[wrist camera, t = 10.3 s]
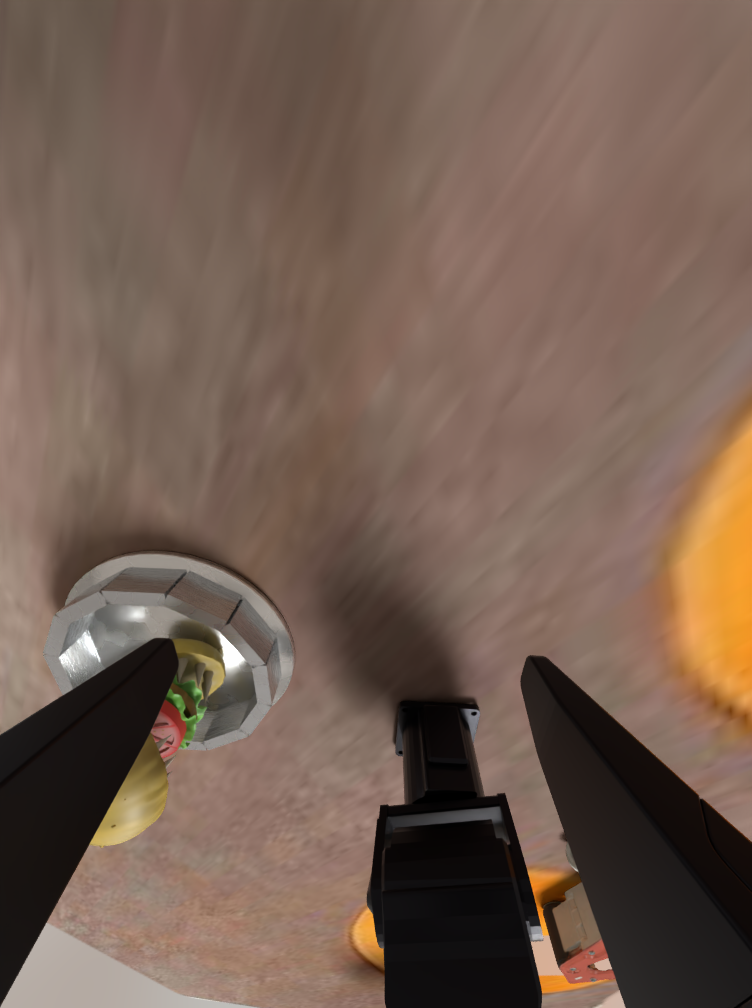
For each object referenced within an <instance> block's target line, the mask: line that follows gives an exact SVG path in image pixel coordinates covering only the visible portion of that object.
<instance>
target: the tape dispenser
mask: <svg viewBox="0 0 752 1008" xmlns="http://www.w3.org/2000/svg"><path fill="white" fill-rule="evenodd" d="M566 856H567V859H568V862H569V863H570V865H571V866H572V868H574V869H575V870H576V871H577V872H578V870H577V867H576V864H575V861H574V858H573V855H572V852H571V849H570V847H569V844H568V842H567V845H566ZM578 873H579V872H578ZM565 897H566V901H564V902H549V903H547V904H545V905H544V906H543V908H544V910H543V915H544V918H545V922H546V926H547V929H548V933H549V936H550V940H551V943H552V947H553V951H554V954H555V958H556V961H557V964H558V967H559V969H560V970H561V972H562V973H563V974H564V976H565V977H566V979H567V981H568V982H569V983H581V982H595V981H598V980H604V979H609V980H611V979H616V978H615V975H614V973H613V970H606V971H600V970H598V969H597V968H595V965H594V963H595V962H598V961H600V960H604V959H606V958H608V955H607V953H606V950H605V947H604V944H603V941H602V938H601V935H600V933H599V930H598V927H597V924H596V921H595V918H594V915H593V912H592V910H591V907H590V904H589V901H588V898H587V895H586V892H585V890H584V887H583V884H582V882H581V883H579V884H578V885H576V886H574V887H572V888H571V889H569V890H567V891H566V892H565Z"/></svg>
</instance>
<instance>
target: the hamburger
mask: <svg viewBox="0 0 752 1008" xmlns="http://www.w3.org/2000/svg"><path fill="white" fill-rule="evenodd" d="M172 640H173V642H174V645H175V648H176V652H177V656H178V659H179V667H178V671H177V673H176V676H175V678H174V680H173V683H172V685H171V687H170V689H169V692H168V694H167V696H166V699H165V701H164V703H163V705H162V708H161V710H160V712H159V715H158V717H157V719H156V721H155V724H154V726H153V728H152V730H151V732H150V734H149V736H148V738H147V740H146V742H145V744H144V746H143V748H142V749H141V751H140V753H139V755H138V757H137V759H136V760H135V762H134V764H133V766H132V768H131V769H130V771H129V773H128V775H127V777H126V779H125V780H124V782H123V784H122V786H121V788H120V790H119V791H118V793H117V795H116V797H115V799H114V800H113V802H112V804H111V806H110V808H109V810H108V811H107V813H106V815H105V817H104V819H103V821H102V822H101V824H100V826H99V828H98V830H97V831H96V833H95V835H94V837H93V839H92V841H91V842H90V844H89V845H94V846H100V847H101V848H103V847H104V846H109V845H115V844H119V843H122V842H125V841H127V840H129V839H131V838H133V837H135V836H137V835H138V834H140V833H141V832H142V831H144V830H145V829H146V828H147V827H148V826H150V825H151V824H152V823H154V822H155V821H156V820H157V819H158V818H159V816H160V815H161V814H162V812H163V810H164V808H165V802H166V798H167V790H168V780H167V778H168V776H169V775H170V774H171V772H172V771H171V772H170V773H168V774H167V771H166V768H167V767H168V766H169V764H170V763H171V762H172V760H173V759H174V758H175V757H176V756H174V757H172V758H171V759H169V760H167V761H165V762H164V761H163V759H162V758H165V757H167V756H170V755H171V754H173V753H174V752H175V751H176V750H177V749H179V748H183V749H185V748H186V747H188V746H189V745H190V743H188V742H186V741H191V740H192V739H193V736H194V734H195V731H196V723H198V722H199V721H200V720H201V719H202V717H203V716H204V712H205V710H206V709H207V707H205V706H202V705H198V704H199V702H200V700H202V699H203V698H204V702H205V704H206V701H207V698H208V696H209V695H210V694H211V693H213V692H214V691H215V690H216V689H217V688H219V687H220V686H221V685H222V684H223V681H224V678H225V676H226V671H225V663H224V659H223V657H222V656H221V654H220V652H219V651H218V650H217V649H215V648H214V647H213V646H211V645H209V644H207V643H205V642H202V641H198V640H194V639H172Z"/></svg>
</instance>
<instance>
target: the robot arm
mask: <svg viewBox="0 0 752 1008" xmlns="http://www.w3.org/2000/svg"><path fill="white" fill-rule="evenodd" d="M178 667H179V659H178V656H177V652H176V648H175V645H174V642H173V640H172V639H170V638H153V639H151V640H150V641H148V642H147V643H145V644H143V645H142V646H140V647H139V648H137V649H135V650H134V651H132V652H131V653H129V654H128V655H126V656H124V657H123V658H121V659H120V660H118V661H116V662H115V663H113V664H112V665H110V666H109V667H107V668H105V669H104V670H102V671H101V672H99V673H97V674H96V675H94V676H93V677H91V678H90V679H88V680H86V681H85V682H83V683H82V684H80V685H78V686H77V687H75V688H74V689H72V690H71V691H69V692H67V693H66V694H64V695H63V696H61V697H60V698H58V699H56V700H55V701H53V702H52V703H50V704H48V705H47V706H45V707H44V708H42V709H41V710H39V711H37V712H36V713H34V714H33V715H31V716H29V717H28V718H26V719H25V720H23V721H22V722H20V723H18V724H17V725H15V726H14V727H12V728H10V729H9V730H7V731H6V732H4V733H3V734H1V735H0V1006H1V1004H2V1003H3V1001H4V999H5V997H6V995H7V994H8V992H9V990H10V988H11V986H12V984H13V983H14V981H15V979H16V977H17V975H18V974H19V972H20V970H21V968H22V966H23V964H24V963H25V960H26V958H27V957H28V955H29V954H30V952H31V950H32V948H33V946H34V944H35V942H36V941H37V939H38V937H39V935H40V933H41V931H42V930H43V928H44V926H45V924H46V923H47V921H48V919H49V917H50V915H51V913H52V912H53V910H54V908H55V906H56V904H57V903H58V901H59V899H60V897H61V895H62V893H63V892H64V890H65V888H66V886H67V884H68V882H69V881H70V879H71V877H72V875H73V873H74V872H75V870H76V868H77V866H78V864H79V862H80V861H81V859H82V857H83V855H84V853H85V852H86V850H87V848H88V846H89V844H90V842H91V841H92V839H93V837H94V835H95V833H96V831H97V830H98V828H99V826H100V824H101V822H102V821H103V819H104V817H105V815H106V813H107V811H108V810H109V808H110V806H111V804H112V802H113V800H114V799H115V797H116V795H117V793H118V791H119V790H120V788H121V786H122V784H123V782H124V780H125V779H126V777H127V775H128V773H129V771H130V769H131V768H132V766H133V764H134V762H135V760H136V759H137V757H138V755H139V753H140V751H141V749H142V748H143V746H144V744H145V742H146V740H147V738H148V736H149V734H150V732H151V730H152V728H153V726H154V724H155V721H156V719H157V717H158V715H159V712H160V710H161V708H162V705H163V703H164V701H165V699H166V696H167V694H168V692H169V689H170V687H171V685H172V683H173V680H174V678H175V676H176V673H177V671H178ZM520 682H521V690H522V694H523V698H524V702H525V706H526V710H527V714H528V718H529V722H530V726H531V731H532V735H533V739H534V743H535V747H536V750H537V754H538V757H539V760H540V763H541V766H542V769H543V772H544V775H545V778H546V781H547V784H548V786H549V789H550V792H551V795H552V798H553V801H554V804H555V807H556V809H557V812H558V815H559V818H560V821H561V824H562V827H563V829H564V832H565V835H566V838H567V841H568V844H569V847H570V849H571V852H572V855H573V858H574V861H575V864H576V867H577V870H578V872H579V875H580V878H581V881H582V884H583V887H584V890H585V892H586V895H587V898H588V901H589V904H590V907H591V910H592V912H593V915H594V918H595V921H596V924H597V927H598V930H599V933H600V935H601V938H602V941H603V944H604V947H605V950H606V953H607V955H608V958H609V961H610V964H611V967H612V970H613V973H614V975H615V978H616V981H617V984H618V987H619V990H620V993H621V996H622V998H623V1001H624V1004H625V1007H626V1008H752V842H751V841H750V840H749V839H748V838H747V837H745V836H744V835H743V834H742V833H741V832H740V831H739V830H738V829H736V828H735V827H734V826H733V825H732V824H731V823H730V822H728V821H727V820H726V819H725V818H724V817H723V816H722V815H721V814H720V813H718V812H717V811H716V810H715V809H714V808H713V807H712V806H711V805H710V804H708V803H707V802H706V801H705V800H704V799H700V797H699V795H698V794H697V793H696V792H695V791H694V790H693V789H692V788H691V787H689V786H688V785H687V784H686V783H685V782H684V781H683V780H682V779H681V778H679V777H678V776H677V775H676V774H675V773H674V772H673V771H672V770H671V769H670V768H668V767H667V766H666V765H665V764H664V763H663V762H662V761H661V760H660V759H658V758H657V757H656V756H655V755H654V754H653V753H652V752H651V751H650V750H649V749H647V748H646V747H645V746H644V745H643V744H642V743H641V742H640V741H639V740H637V739H636V738H635V737H634V736H633V735H632V734H631V733H630V732H629V731H627V730H626V729H625V728H624V727H623V726H622V725H621V724H620V723H619V722H618V721H616V720H615V719H614V718H613V717H612V716H611V715H610V714H609V713H608V712H606V711H605V710H604V709H603V708H602V707H601V706H600V705H599V704H598V703H596V702H595V701H594V700H593V699H592V698H591V697H590V696H589V695H588V694H587V693H585V692H584V691H583V690H582V689H581V688H580V687H579V686H578V685H577V684H575V683H574V682H573V681H572V680H571V679H570V678H569V677H568V676H567V675H566V674H564V673H563V672H562V671H561V670H560V669H559V668H558V667H557V666H556V665H554V664H553V663H552V662H551V661H550V660H549V659H548V658H546V657H544V656H534V655H530V656H528V657H527V658H526V661H525V665H524V668H523V672H522V675H521V681H520ZM479 716H480V711H479V707H478V706H477V705H470V704H450V703H430V702H409V701H403V702H401V703H400V704H399V711H398V723H397V734H396V746H395V752H396V754H397V755H398V756H403V773H404V799H405V804H404V805H393V806H389V805H388V804H387V805H380V813H379V819H377V827H376V836H375V846H374V855H373V864H372V873H371V878H370V882H369V887H368V891H367V906H368V908H369V909H370V911H371V912H372V914H373V918H374V925H375V932H376V937H377V942H378V945H379V947H380V948H384V967H385V1005H386V1008H541V1004H542V990H541V984H540V980H539V976H538V971H537V967H536V963H535V959H534V954H533V950H532V946H531V941H533V942H534V941H543V934H542V929H541V925H540V920H539V916H538V911H537V907H536V903H535V899H534V895H533V891H532V887H531V883H530V879H529V876H528V872H527V868H526V865H525V861H524V857H523V854H522V850H521V847H520V844H519V840H518V837H517V833H516V830H515V826H514V823H513V819H512V816H511V812H510V809H509V805H508V802H507V798H506V795H505V793H499V794H497V795H496V796H486V797H485V796H484V791H483V786H482V782H481V777H480V773H479V768H478V763H477V759H476V754H475V750H474V745H473V743H474V738H475V734H476V729H477V725H478V721H479Z"/></svg>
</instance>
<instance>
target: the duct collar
mask: <svg viewBox="0 0 752 1008" xmlns="http://www.w3.org/2000/svg"><path fill="white" fill-rule="evenodd" d="M153 638H170V639H194V640H198V641H202V642H205V643H207V644H209V645H211V646H213V647H214V648H215V649H217V650H218V651H219V652H220V654H221V656H222V657H223V659H224V663H225V671H226V676H225V678H224V681H223V684H222V685H221V686H220V687H219V688H217V689H216V690H215V691H214V692H213V693H211V694H210V695H209V696H208V698H207V701H206V704H205V702H204V698H203V699H202V700H200V702H199V704H198V705H202V706H205V707H207V709H206V710H205V712H204V716H203V717H202V719H201V720H200V721H199V722H198V723H196V731H195V734H194V736H193V739H192V740H191V741H186V742H188V743H190V745H189V746H188V747H186V748H185V749H189V750H207V749H208V750H211V749H214V748H217V747H219V746H222V745H225V744H228V743H231V742H234V741H237V740H240V739H243V738H245V737H248V736H249V735H251V733H252V732H253V731H254V729H255V728H256V727H257V725H258V724H259V723H260V721H261V720H262V719H263V717H264V716H265V715H266V713H267V712H268V711H269V709H270V708H271V706H273V705H274V704H275V703H276V702H277V701H278V700H279V699H280V698H281V696H282V695H283V694H284V692H285V690H286V689H287V687H288V685H289V682H290V679H291V677H292V673H293V669H294V663H295V649H294V643H293V638H292V636H291V633H290V630H289V627H288V626H287V624H286V622H285V620H284V618H283V616H282V615H281V613H280V612H279V611H278V609H277V608H276V606H275V605H274V604H273V603H272V602H271V601H270V600H269V599H268V598H267V596H266V595H265V594H263V593H262V592H261V591H260V590H259V589H258V588H257V587H255V586H254V585H253V584H252V583H250V582H249V581H247V580H246V579H244V578H243V577H241V576H240V575H238V574H236V573H235V572H233V571H231V570H229V569H227V568H226V567H223V566H221V565H219V564H216V563H214V562H212V561H209V560H206V559H203V558H199V557H196V556H193V555H188V554H183V553H178V552H170V551H139V552H132V553H127V554H123V555H119V556H116V557H113V558H111V559H109V560H106V561H104V562H102V563H101V564H99V565H98V566H96V567H95V568H93V569H92V570H90V571H89V572H87V573H86V574H85V575H84V576H83V577H82V578H81V579H80V580H79V581H78V582H76V584H75V585H74V587H73V588H72V590H71V591H70V593H69V595H68V598H67V600H66V602H65V607H63V608H62V609H61V610H60V611H58V612H57V613H56V614H55V615H54V617H53V620H52V624H51V627H50V631H49V634H48V637H47V641H46V644H45V648H44V651H43V653H44V655H43V656H44V658H45V660H46V662H47V664H48V666H49V668H50V670H51V672H52V674H53V676H54V678H55V680H56V682H57V684H58V686H59V688H60V690H61V692H62V694H66V693H67V692H69V691H71V690H72V689H74V688H75V687H77V686H78V685H80V684H82V683H83V682H85V681H86V680H88V679H90V678H91V677H93V676H94V675H96V674H97V673H99V672H101V671H102V670H104V669H105V668H107V667H109V666H110V665H112V664H113V663H115V662H116V661H118V660H120V659H121V658H123V657H124V656H126V655H128V654H129V653H131V652H132V651H134V650H135V649H137V648H139V647H140V646H142V645H143V644H145V643H147V642H148V641H150V640H151V639H153ZM179 749H183V748H179Z"/></svg>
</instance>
